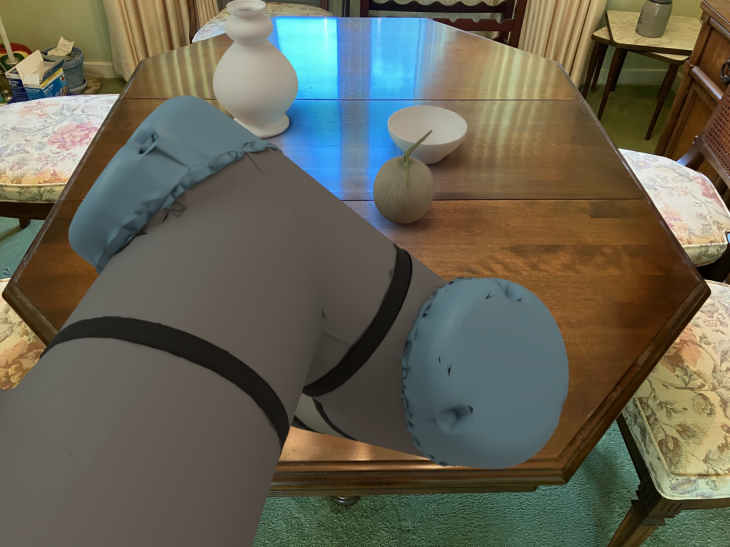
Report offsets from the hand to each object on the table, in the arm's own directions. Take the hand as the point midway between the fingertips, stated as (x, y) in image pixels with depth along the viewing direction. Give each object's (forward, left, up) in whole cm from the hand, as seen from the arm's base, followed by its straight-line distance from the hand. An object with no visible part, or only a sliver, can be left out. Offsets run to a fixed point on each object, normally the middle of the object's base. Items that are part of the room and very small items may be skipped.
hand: (228, 371), depth 54 cm
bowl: (+65, +32, -16) cm, 74 cm away
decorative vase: (+47, +65, -16) cm, 82 cm away
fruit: (+46, +20, -16) cm, 53 cm away
